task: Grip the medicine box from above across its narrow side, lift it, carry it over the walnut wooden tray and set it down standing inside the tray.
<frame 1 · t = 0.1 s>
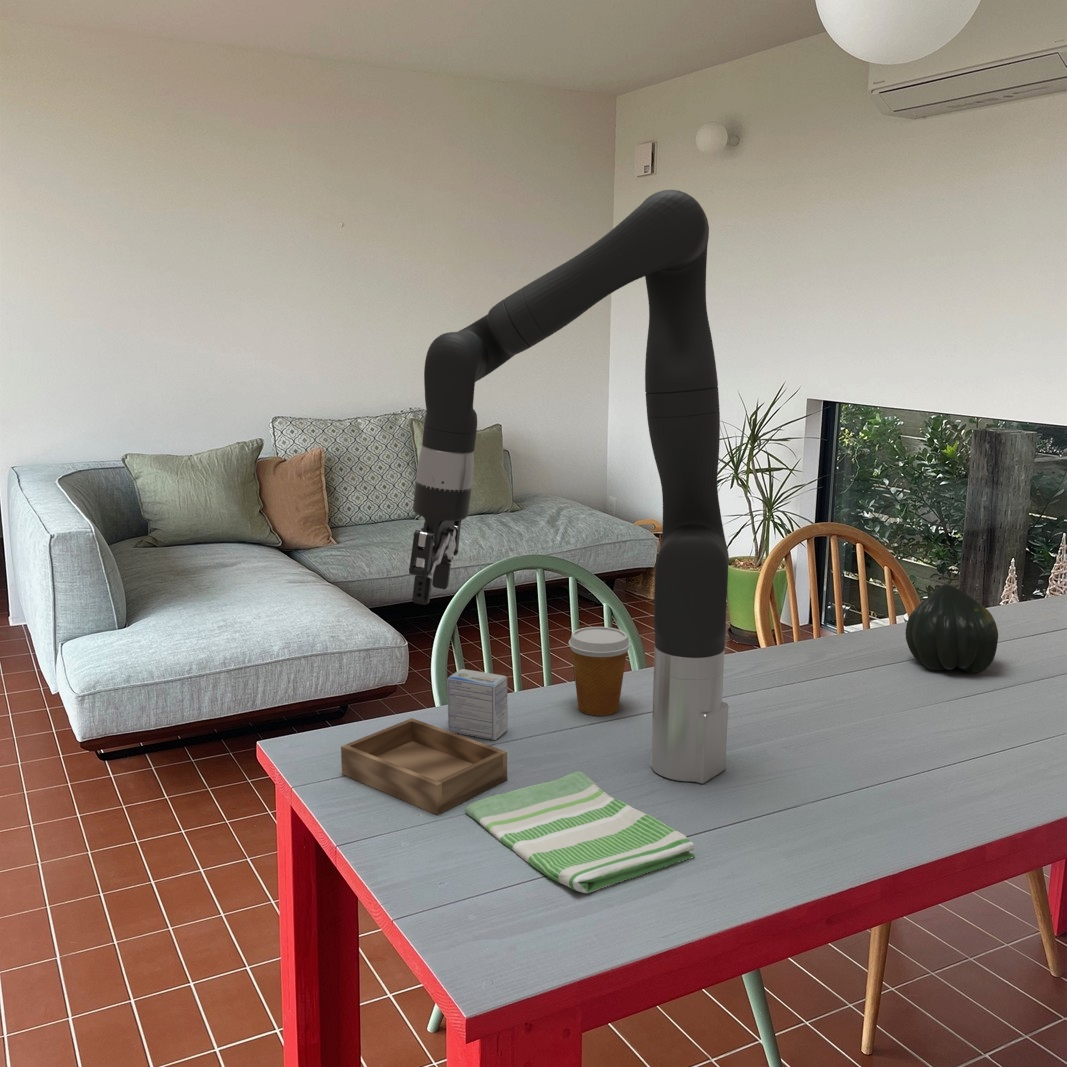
hand: (430, 595, 146), 22 cm above the table, tool pointing down, fingers open, 8 cm apart
squash: (948, 667, 185), on the table
dish towel: (577, 839, 126), on the table
tray: (424, 777, 140), on the table
medicine box: (478, 733, 155), on the table
disposable coffee cup: (598, 709, 165), on the table
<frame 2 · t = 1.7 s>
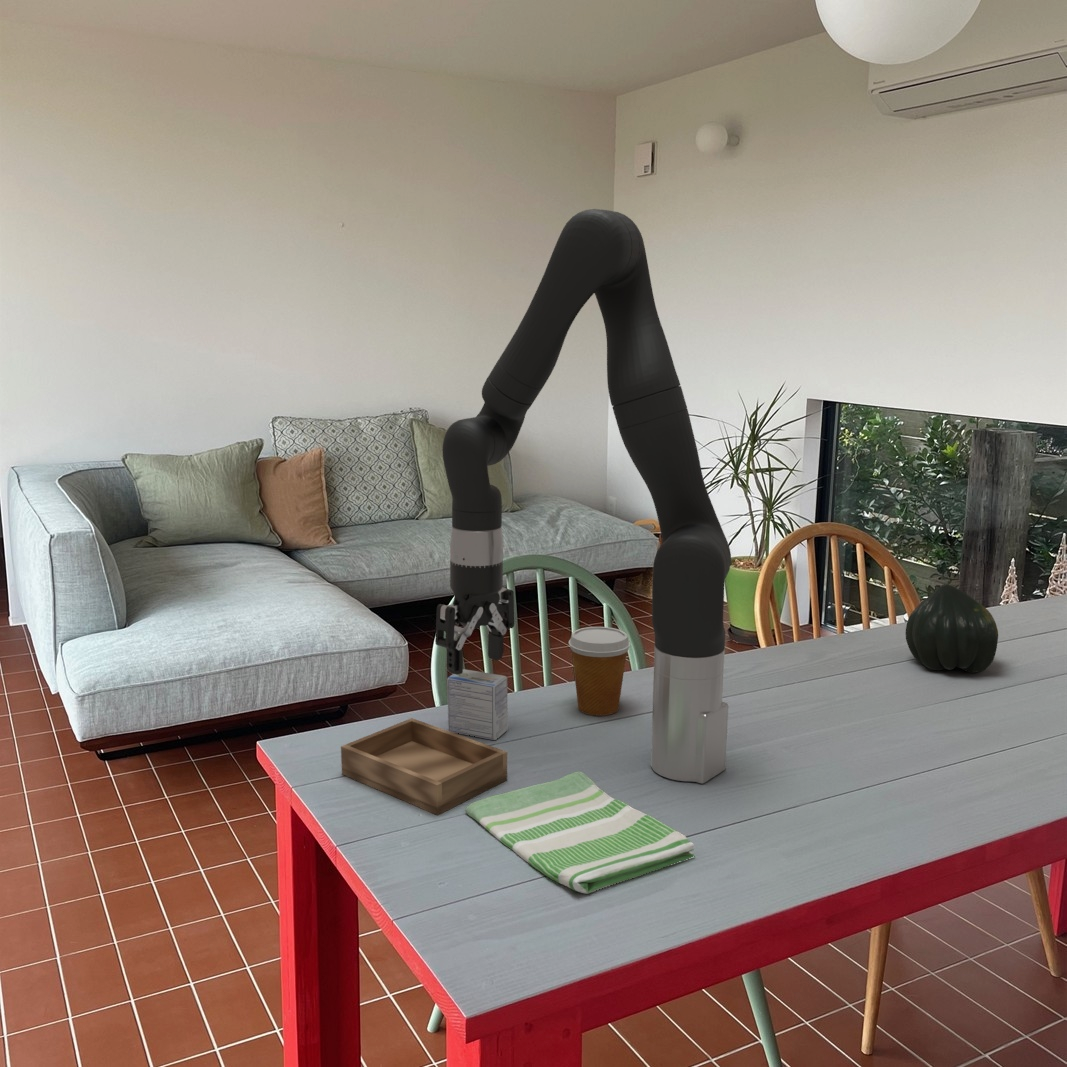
hand: (475, 665, 153), 10 cm above the table, tool pointing down, fingers open, 8 cm apart
nothing on the table moved.
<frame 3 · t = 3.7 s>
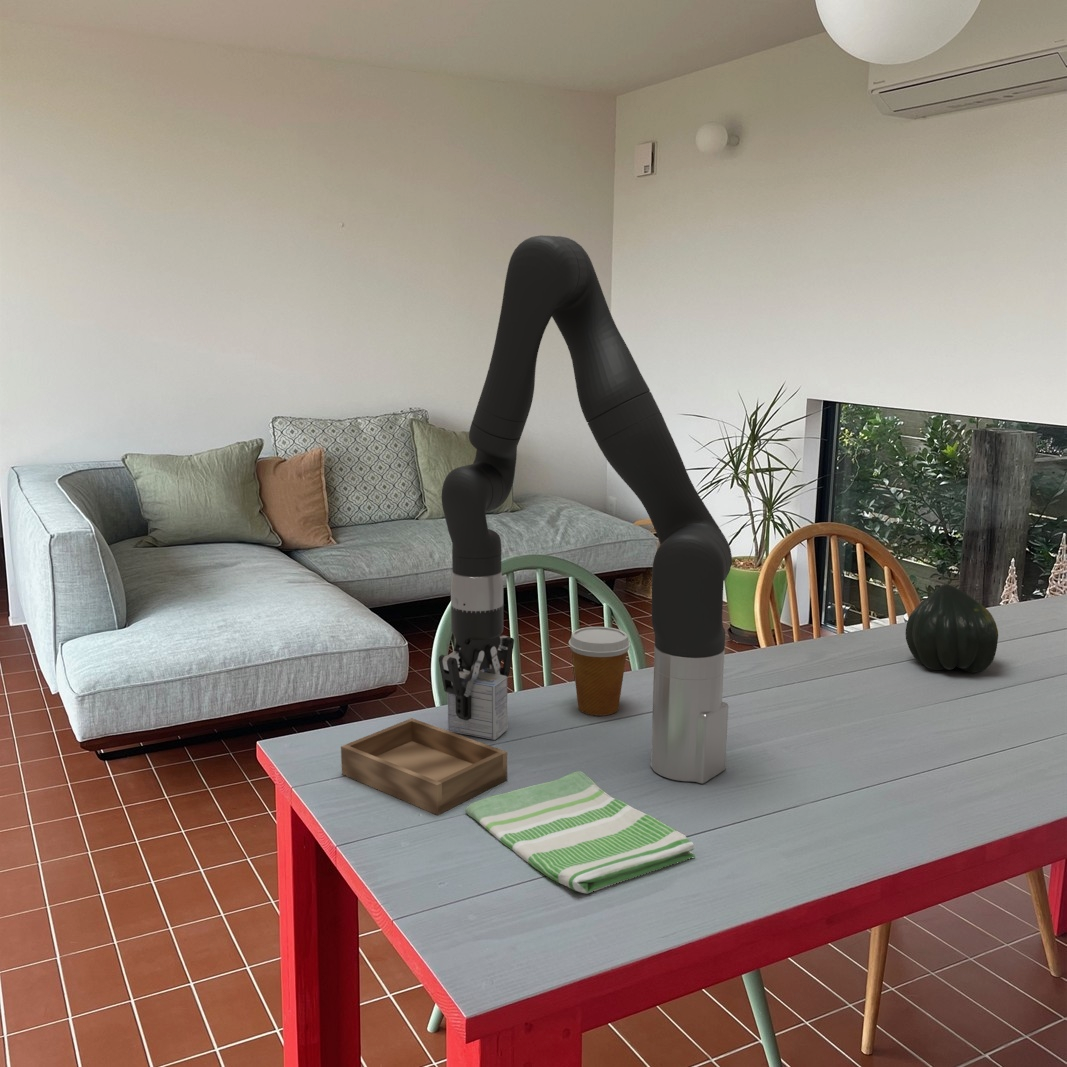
hand: (477, 712, 155), 3 cm above the table, tool pointing down, fingers closed on medicine box, 5 cm apart
medicine box: (477, 732, 155), on the table, touching gripper
everything else where it was.
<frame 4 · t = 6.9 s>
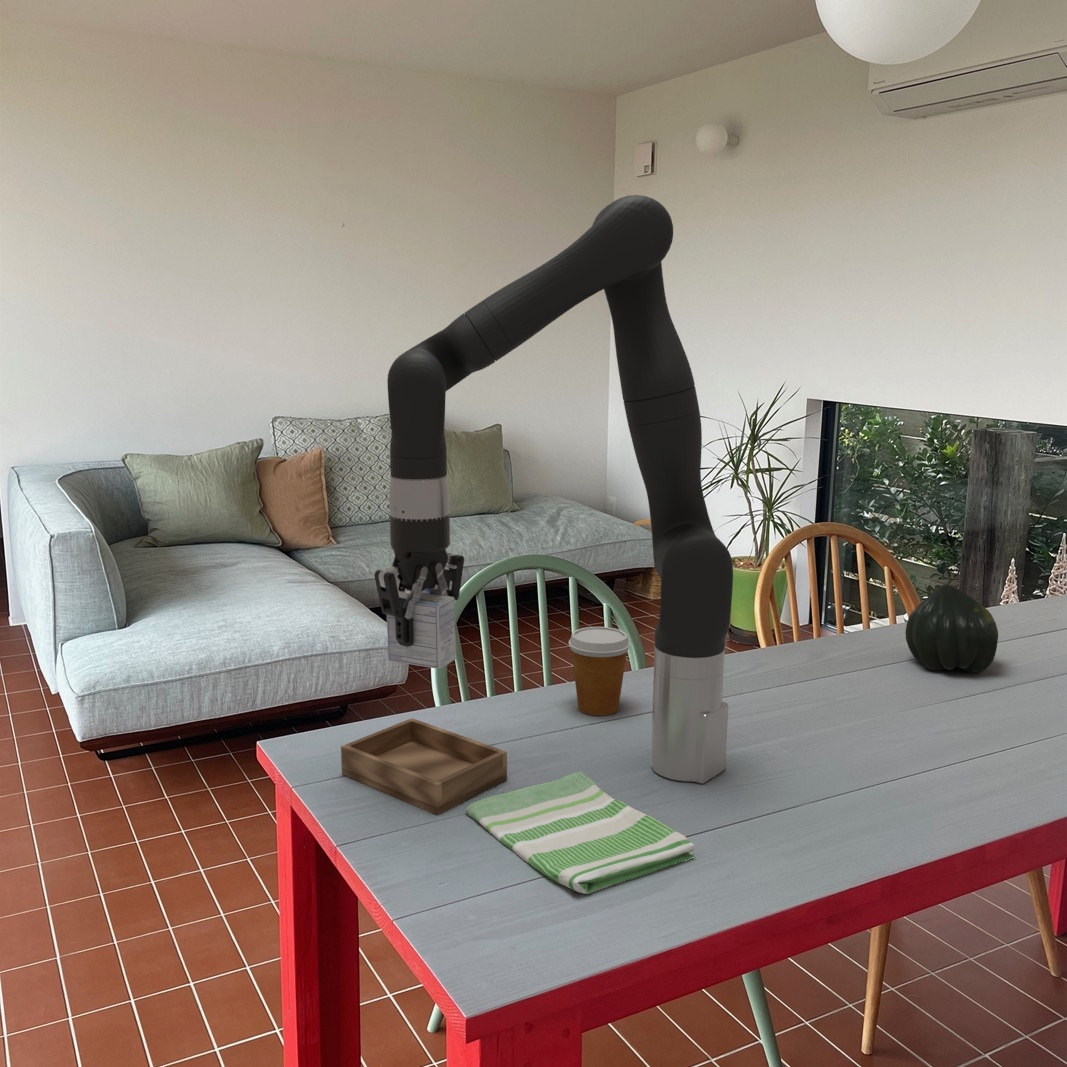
hand: (422, 639, 136), 19 cm above the table, tool pointing down, fingers closed on medicine box, 5 cm apart
medicine box: (422, 662, 137), point 16 cm above the table, touching gripper
everything else where it was.
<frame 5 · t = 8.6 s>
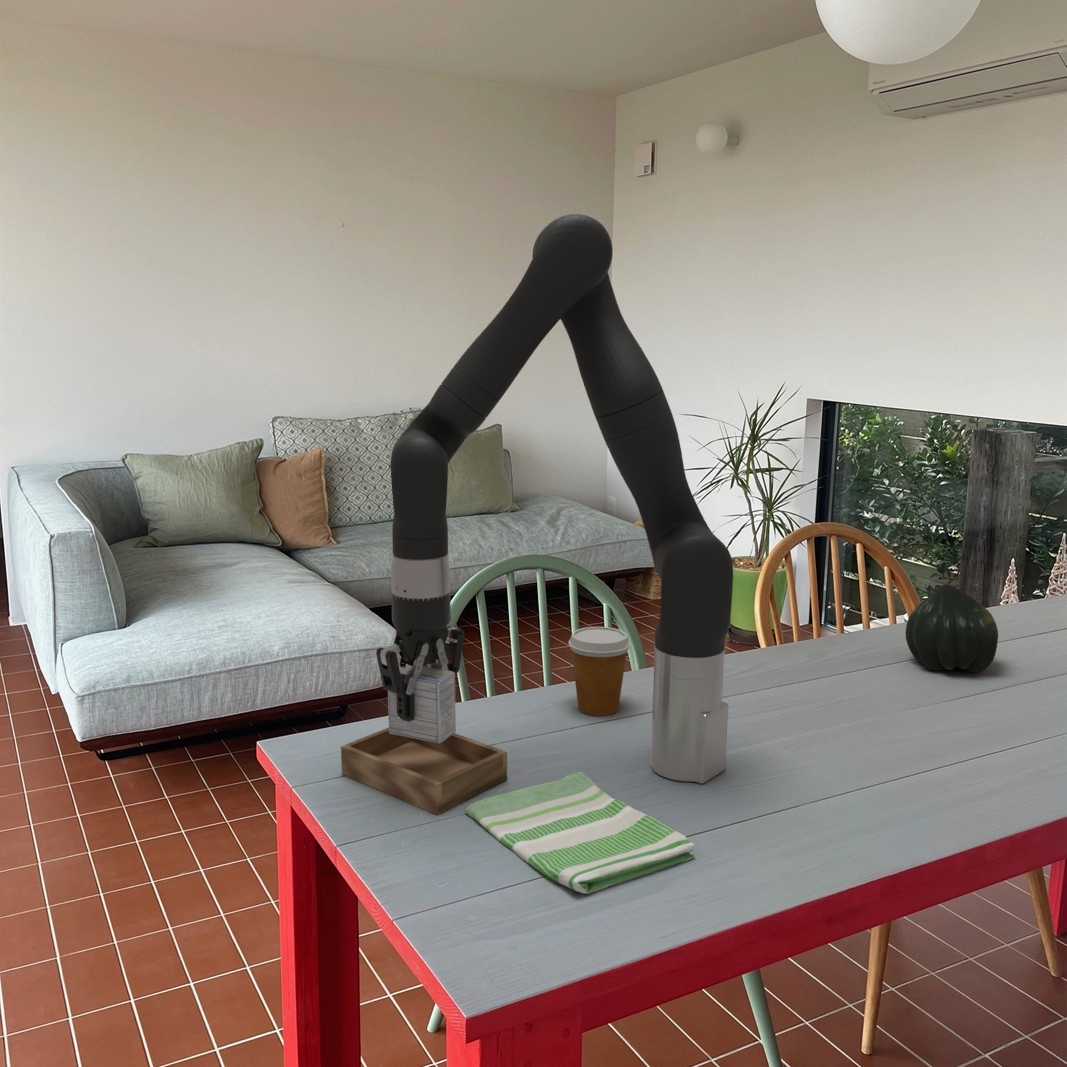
hand: (422, 712, 138), 9 cm above the table, tool pointing down, fingers closed on medicine box, 5 cm apart
medicine box: (422, 735, 139), point 6 cm above the table, touching gripper
everything else where it was.
when the fingers open (5 cm above the table, at t = 10.2 s): medicine box drops 1 cm, resting on tray.
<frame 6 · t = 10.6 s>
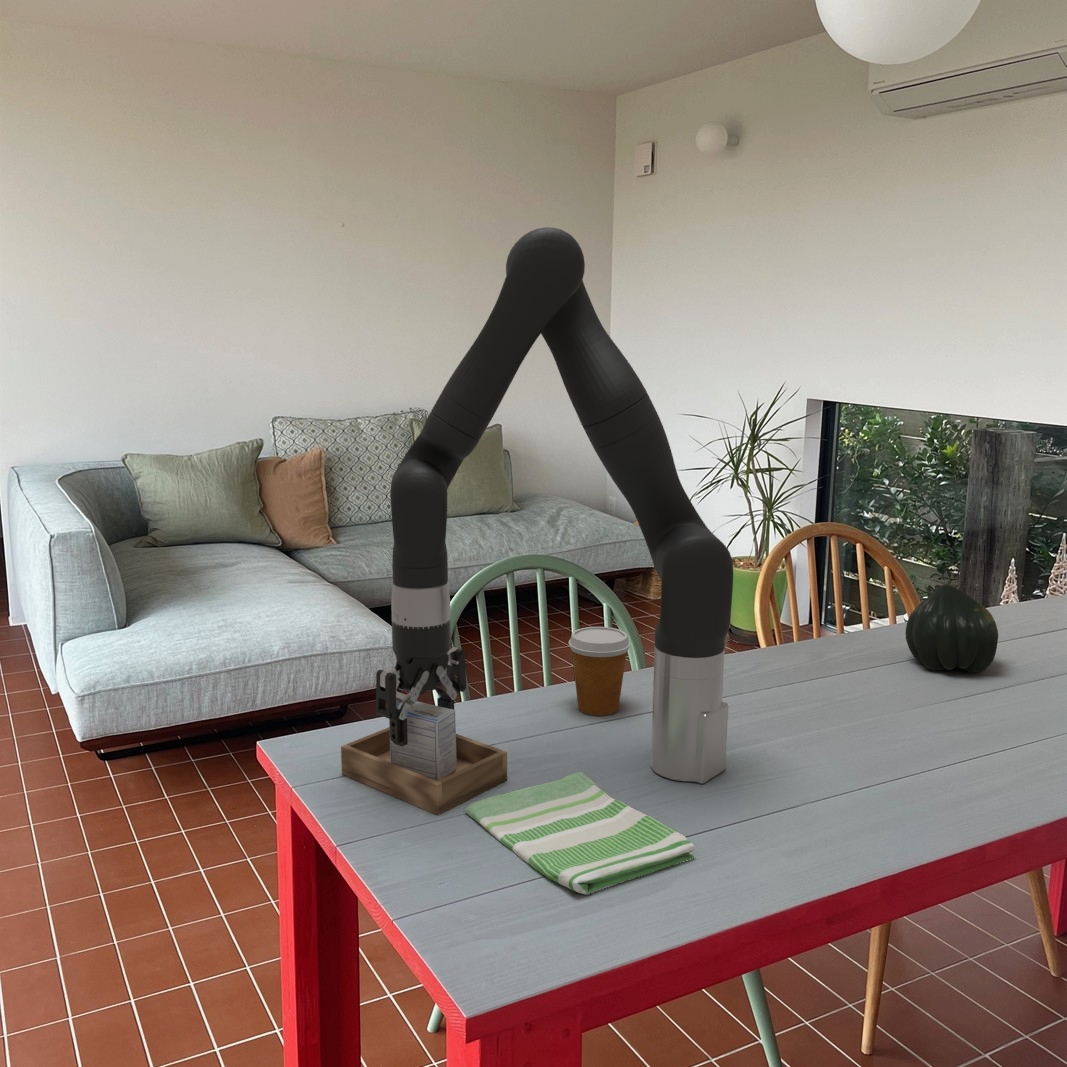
hand: (423, 734, 139), 6 cm above the table, tool pointing down, fingers open, 8 cm apart
medicine box: (423, 771, 140), point 1 cm above the table, touching tray
everything else where it was.
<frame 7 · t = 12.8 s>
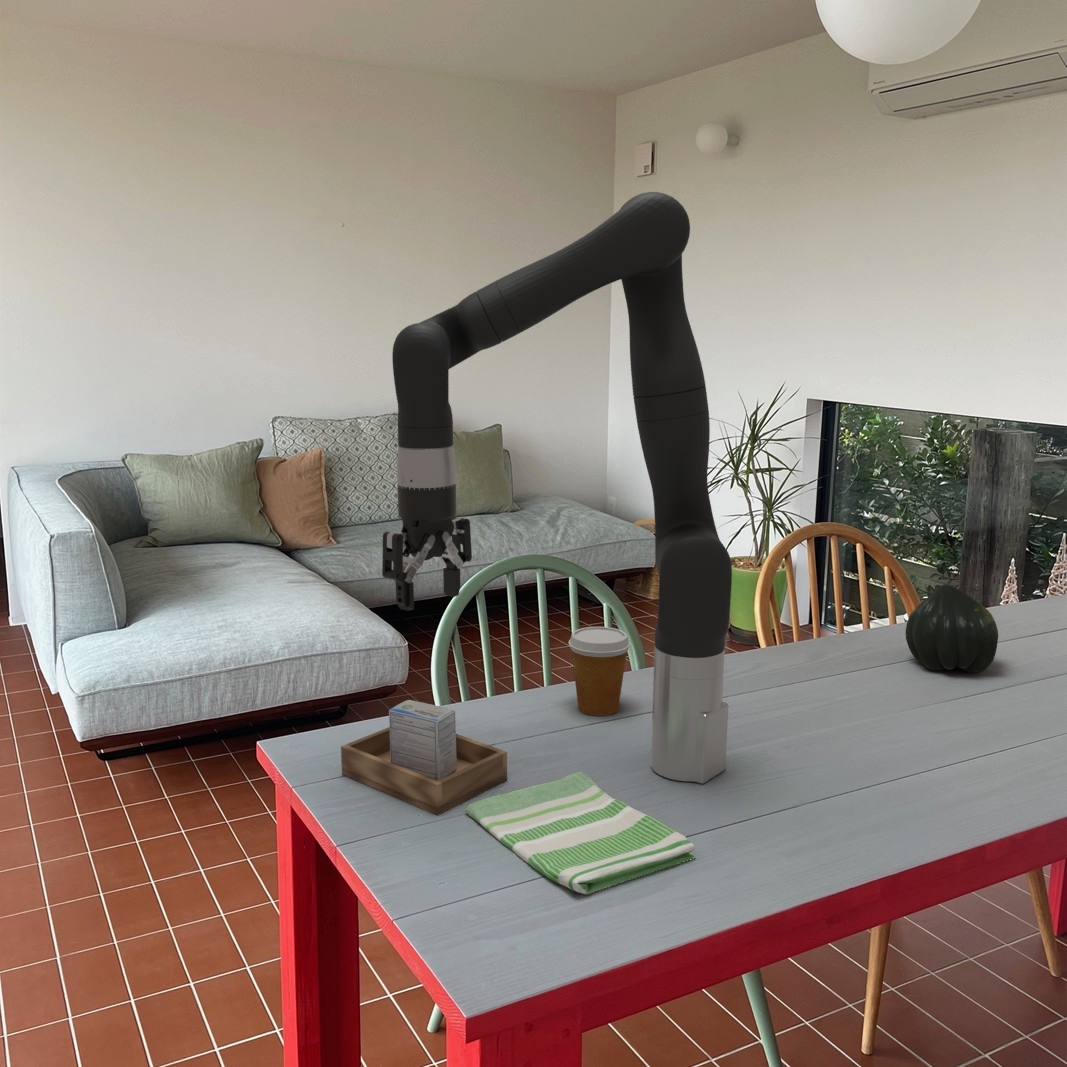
hand: (429, 602, 139), 23 cm above the table, tool pointing down, fingers open, 8 cm apart
nothing on the table moved.
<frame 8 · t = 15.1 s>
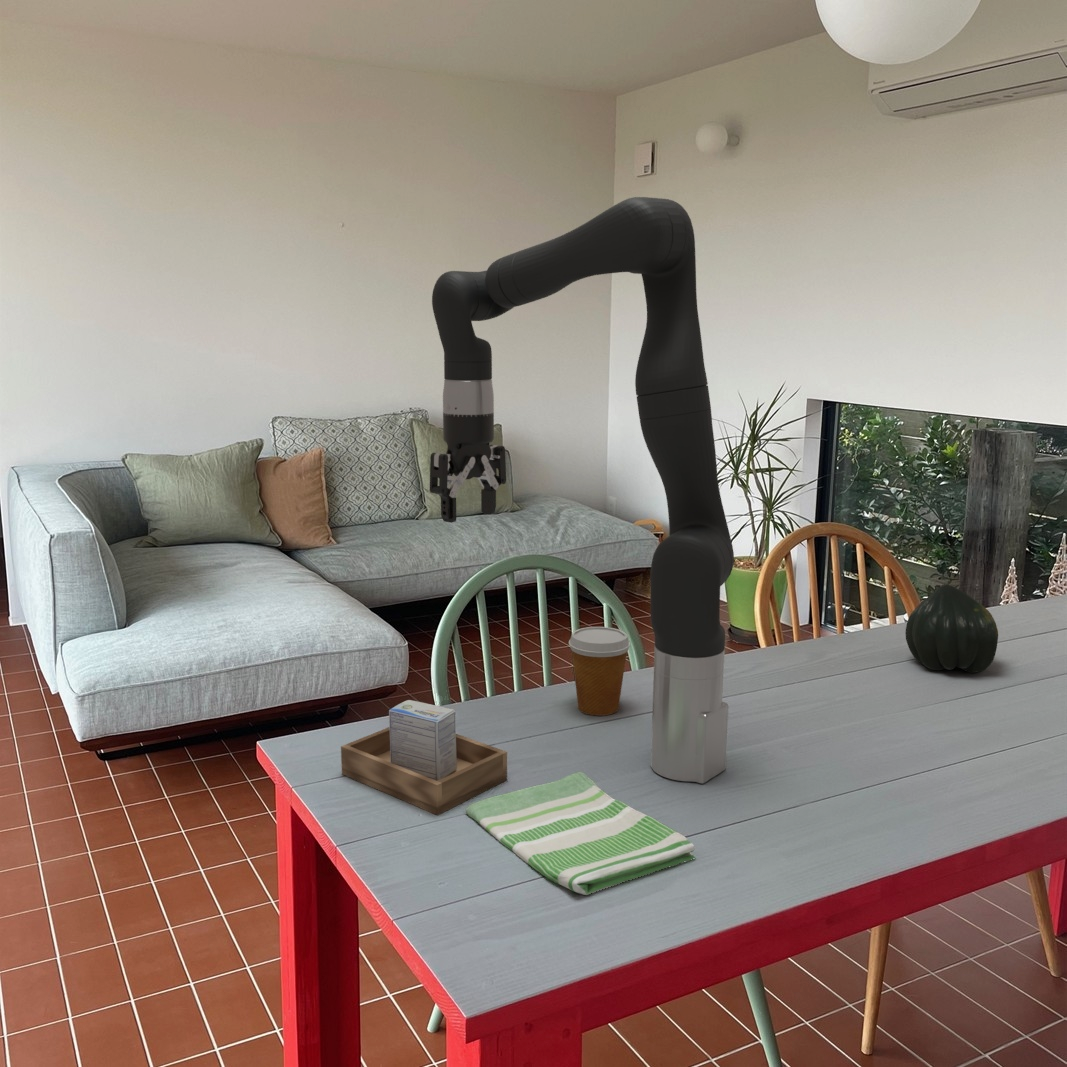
hand: (469, 517, 159), 30 cm above the table, tool pointing down, fingers open, 8 cm apart
nothing on the table moved.
at the end: medicine box inside the target area on the tray (0.1 cm from its centre), point 0.8 cm above the tray's base; medicine box tilted 0°; the gripper is holding nothing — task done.
